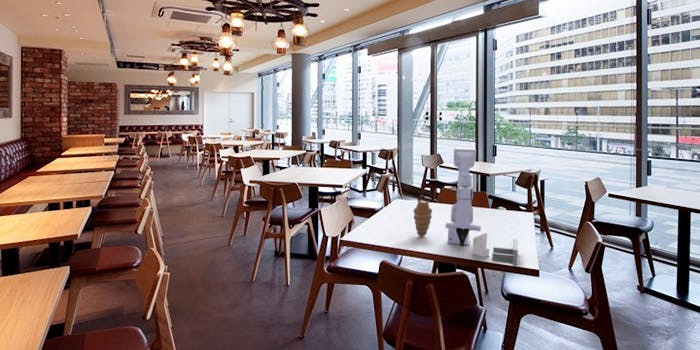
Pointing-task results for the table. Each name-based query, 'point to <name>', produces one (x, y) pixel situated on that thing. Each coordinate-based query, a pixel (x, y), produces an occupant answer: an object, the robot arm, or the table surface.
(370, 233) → the table surface
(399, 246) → the table surface
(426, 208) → the cat ice cream
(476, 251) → the white wedge bracket
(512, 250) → the socket bay
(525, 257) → the table surface
